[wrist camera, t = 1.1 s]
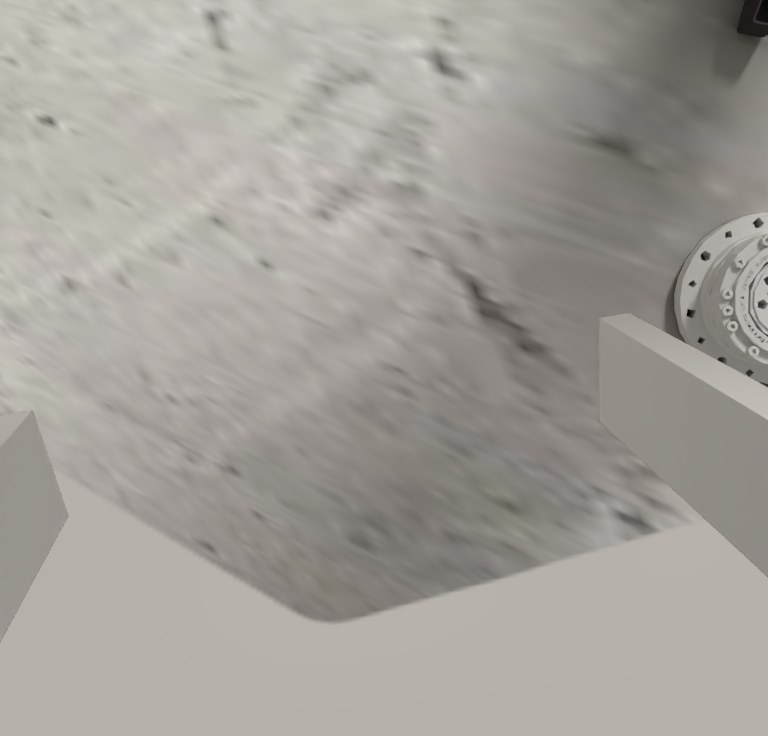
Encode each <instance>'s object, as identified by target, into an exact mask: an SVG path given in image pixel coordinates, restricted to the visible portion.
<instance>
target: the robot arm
mask: <svg viewBox="0 0 768 736" xmlns="http://www.w3.org/2000/svg"><path fill="white" fill-rule="evenodd" d="M599 422H601V423H602V424H603V425H604V426H605V427H606V428H607V429H608V430H609V431H610V432H611V433H612V434H613V435H615V436H616V437H617V438H618V439H619V440H620V441H621V442H622V443H623V444H624V445H625V446H626V447H628V448H629V449H630V450H631V451H632V452H633V453H634V454H635V455H636V456H637V457H638V458H639V459H640V460H642V461H643V462H644V463H645V464H646V465H647V466H648V467H649V468H650V469H651V470H652V471H653V472H655V473H656V474H657V475H658V476H659V477H660V478H661V479H662V480H663V481H664V482H665V483H666V484H667V485H669V486H670V487H671V488H672V489H673V490H674V491H675V492H676V493H677V494H678V495H679V496H680V497H682V498H683V499H684V500H685V501H686V502H687V503H688V504H689V505H690V506H691V507H692V508H693V509H694V510H696V511H697V512H698V513H699V514H700V515H701V516H702V517H703V518H704V519H705V520H706V521H707V522H709V523H710V524H711V525H712V526H713V527H714V528H715V529H716V530H717V531H718V532H719V533H720V534H721V535H723V536H724V537H725V538H726V539H727V540H728V541H729V542H730V543H731V544H732V545H733V546H734V547H736V548H737V549H738V550H739V551H740V552H741V553H742V554H743V555H744V556H745V557H746V558H747V559H749V560H750V561H751V562H752V563H753V564H754V565H755V566H756V567H757V568H758V569H759V570H760V571H761V572H763V573H764V574H765V575H766V576H767V577H768V384H766V383H762V382H757V381H755V380H753V379H751V378H749V377H748V376H746V375H744V374H742V373H740V372H738V371H736V370H735V369H733V368H731V367H729V366H727V365H725V364H723V363H722V362H720V361H718V360H716V359H714V358H712V357H710V356H708V355H707V354H705V353H703V352H701V351H699V350H697V349H695V348H694V347H692V346H690V345H688V344H686V343H684V342H682V341H681V340H679V339H677V338H675V337H673V336H671V335H669V334H668V333H666V332H664V331H662V330H660V329H658V328H656V327H655V326H653V325H651V324H649V323H647V322H645V321H643V320H641V319H640V318H638V317H636V316H634V315H632V314H630V313H625V314H619V315H613V316H607V317H601V318H599ZM67 518H68V513H67V510H66V507H65V504H64V501H63V498H62V495H61V492H60V489H59V486H58V483H57V480H56V477H55V474H54V471H53V468H52V465H51V462H50V460H49V457H48V454H47V451H46V448H45V445H44V442H43V439H42V436H41V433H40V430H39V427H38V424H37V421H36V418H35V415H34V412H33V410H29V411H23V412H17V413H10V414H4V415H0V642H1V640H2V638H3V636H4V635H5V633H6V631H7V629H8V627H9V625H10V624H11V622H12V620H13V618H14V616H15V614H16V612H17V610H18V609H19V607H20V605H21V603H22V601H23V599H24V598H25V596H26V594H27V592H28V590H29V588H30V586H31V585H32V583H33V581H34V579H35V577H36V575H37V573H38V572H39V570H40V567H41V566H42V564H43V562H44V560H45V559H46V556H47V555H48V553H49V551H50V549H51V547H52V546H53V544H54V542H55V540H56V538H57V536H58V534H59V532H60V531H61V529H62V527H63V525H64V523H65V521H66V519H67Z"/></svg>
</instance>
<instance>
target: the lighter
mask: <svg viewBox="0 0 768 736" xmlns="http://www.w3.org/2000/svg"><path fill="white" fill-rule="evenodd" d="M737 31H738V32H739V33H743V34H748V35H753V36H758V37H764V36H766V35H768V0H745V3H744V6H743V9H742V12H741V16H740V20H739V25H738V29H737Z"/></svg>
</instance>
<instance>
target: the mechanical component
mask: <svg viewBox="0 0 768 736" xmlns="http://www.w3.org/2000/svg"><path fill="white" fill-rule="evenodd" d="M753 222H754V224H753ZM701 254H702V255H703V256H704V258H703V259H701ZM689 283H690V285H688V284H689ZM687 310H689V316H688V317H687V316H686V315H687ZM674 311H675V315H676V319H677V323H678V327H679V331H680V334H681V335H682V337H683V339H684V340H685V342H686V344H688V345H690V346H692V347H694V348H695V349H697V350H699V351H701V352H703V353H705V354H707V355H708V356H710V357H712V358H714V359H716V360H718V358H719V359H720V362H722V363H723V364H725V365H727V366H729V367H731V368H733V369H735V370H736V371H738V372H740V373H742V374H744V375H746V376H748V377H749V378H751V379H753V380H755V381H757V382H762V383H766V384H768V212H764V213H757V214H751V215H746V216H743V217H740V218H737V219H735V220H733V221H731V222H728V223H726V224H724V225H722V226H720V227H718V228H716V229H715V230H714V231H712V232H711V233H710V234H709V235H707V236H706V237H705V238H703V239H702V240H701V241H700V242H699V243H698V244H697V246H696V247H695V248H694V250H693V251H692V252H691V254H690V255H689V256H688V258H687V259H686V260H685V263H684V265H683V267H682V269H681V272H680V274H679V276H678V279H677V284H676V288H675V293H674ZM697 341H698V342H697Z"/></svg>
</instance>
